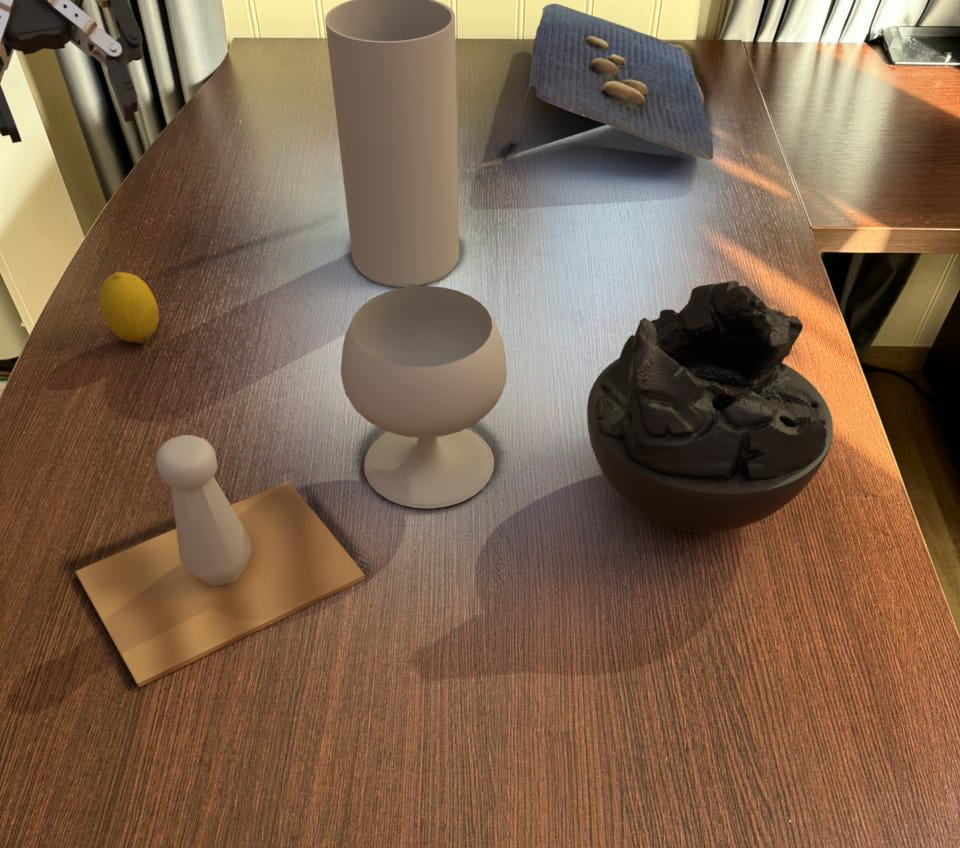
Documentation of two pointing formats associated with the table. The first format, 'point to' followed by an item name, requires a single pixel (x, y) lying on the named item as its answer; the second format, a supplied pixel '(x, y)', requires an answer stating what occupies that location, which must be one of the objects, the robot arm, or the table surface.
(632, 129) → the mat
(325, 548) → the cork mat
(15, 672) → the table surface
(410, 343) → the chalice
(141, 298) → the lemon
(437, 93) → the cylinder vase
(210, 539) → the salt shaker
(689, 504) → the bowl of black rocks
